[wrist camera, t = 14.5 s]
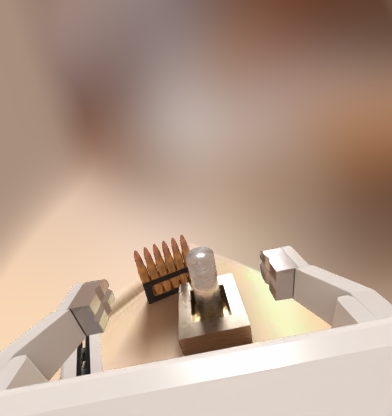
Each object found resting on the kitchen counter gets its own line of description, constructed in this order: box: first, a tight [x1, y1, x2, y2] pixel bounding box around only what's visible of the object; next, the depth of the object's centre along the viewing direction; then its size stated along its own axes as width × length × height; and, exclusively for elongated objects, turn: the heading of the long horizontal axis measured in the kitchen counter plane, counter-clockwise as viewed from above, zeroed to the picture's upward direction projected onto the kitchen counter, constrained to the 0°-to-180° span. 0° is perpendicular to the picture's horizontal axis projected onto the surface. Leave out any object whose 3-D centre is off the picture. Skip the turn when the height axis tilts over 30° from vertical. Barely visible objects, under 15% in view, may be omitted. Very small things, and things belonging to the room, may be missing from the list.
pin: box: [186, 247, 224, 321], centre depth 29 cm, size 4×4×12 cm
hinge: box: [60, 333, 103, 380], centre depth 22 cm, size 17×5×10 cm, turn 30°
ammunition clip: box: [134, 235, 191, 304], centre depth 37 cm, size 11×2×12 cm, turn 108°
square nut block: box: [178, 274, 252, 356], centre depth 31 cm, size 10×10×4 cm
